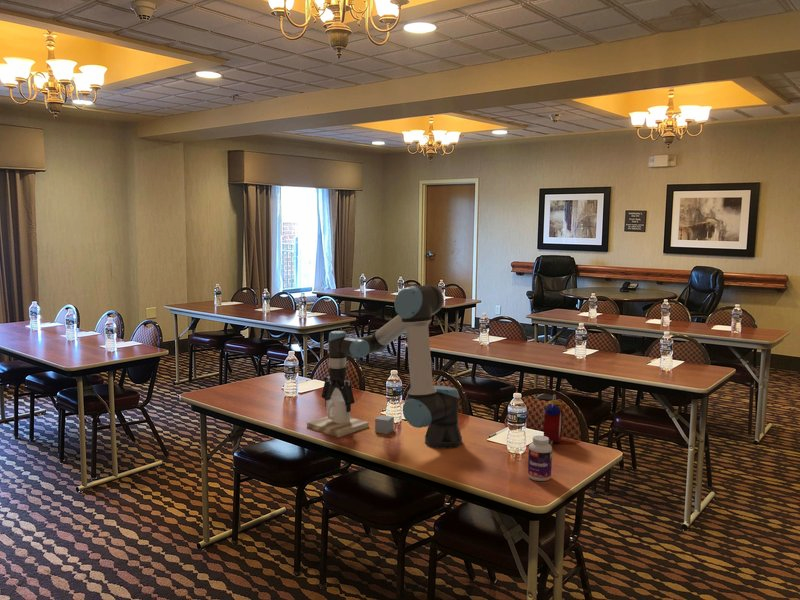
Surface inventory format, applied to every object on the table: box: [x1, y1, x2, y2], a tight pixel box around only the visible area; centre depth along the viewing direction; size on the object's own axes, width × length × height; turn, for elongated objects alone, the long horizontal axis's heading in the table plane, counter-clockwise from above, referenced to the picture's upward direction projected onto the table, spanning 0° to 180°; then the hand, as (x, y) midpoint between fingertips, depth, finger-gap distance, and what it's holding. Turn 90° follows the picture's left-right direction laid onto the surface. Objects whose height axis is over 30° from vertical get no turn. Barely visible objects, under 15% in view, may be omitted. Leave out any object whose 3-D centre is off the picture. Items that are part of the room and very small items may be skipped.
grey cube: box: [374, 414, 395, 435], centre depth 272 cm, size 6×6×6 cm
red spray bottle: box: [538, 394, 564, 447], centre depth 259 cm, size 15×9×20 cm, turn 160°
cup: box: [330, 382, 343, 399], centre depth 326 cm, size 8×12×10 cm
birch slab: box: [306, 414, 370, 438], centre depth 277 cm, size 20×18×3 cm
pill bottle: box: [527, 435, 553, 482], centre depth 222 cm, size 8×8×14 cm
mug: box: [325, 396, 352, 424], centre depth 277 cm, size 12×8×10 cm
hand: (337, 416), depth 277 cm, fingers open, 10 cm apart
